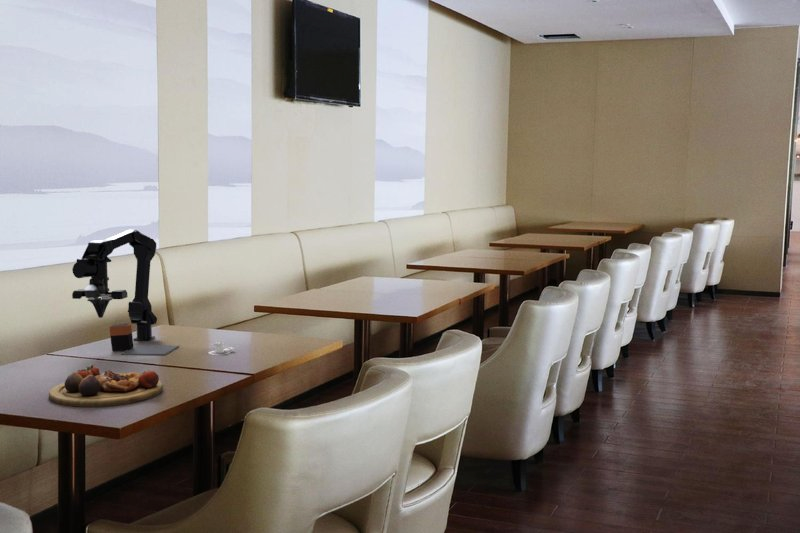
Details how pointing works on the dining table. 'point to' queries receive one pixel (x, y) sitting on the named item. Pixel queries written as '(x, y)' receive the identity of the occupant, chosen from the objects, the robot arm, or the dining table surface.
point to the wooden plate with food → (105, 388)
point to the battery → (121, 336)
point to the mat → (150, 350)
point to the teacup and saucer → (221, 349)
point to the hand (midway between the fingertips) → (100, 317)
